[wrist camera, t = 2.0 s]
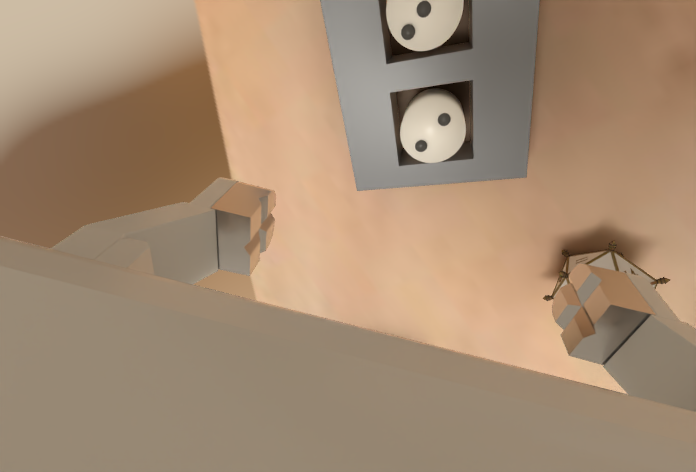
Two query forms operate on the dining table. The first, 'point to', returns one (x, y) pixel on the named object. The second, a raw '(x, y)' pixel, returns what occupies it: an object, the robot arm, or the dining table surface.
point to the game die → (601, 266)
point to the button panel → (430, 70)
